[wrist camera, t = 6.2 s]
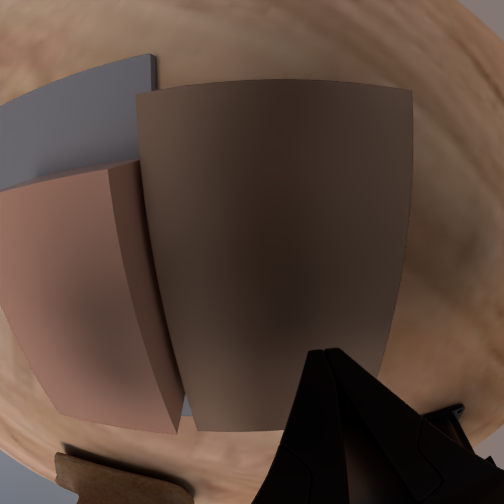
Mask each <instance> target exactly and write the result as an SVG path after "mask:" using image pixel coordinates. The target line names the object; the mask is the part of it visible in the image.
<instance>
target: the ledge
mask: <svg viewBox="0 0 504 504" xmlns="http://www.w3.org/2000/svg"><path fill="white" fill-rule="evenodd" d="M136 115H137V130H138V143H139V154H140V165H141V174H142V183H143V191H144V199H145V207H146V214H147V221H148V227H149V234H150V240H151V246H152V252H153V257H154V263H155V268H156V273H157V279H158V284H159V289H160V293H161V298H162V303H163V307H164V312H165V316H166V321H167V325H168V329H169V333H170V337H171V341H172V345H173V349H174V353H175V357H176V361H177V364H178V368H179V372H180V375H181V379H182V382H183V386H184V389H185V393H186V396H187V399H188V403H189V406H190V409H191V412H192V415H193V418H194V421H195V425H196V428H197V430H198V431H216V432H250V431H275V430H284V429H285V426H286V423H287V420H288V417H289V414H290V411H291V408H292V404H293V401H294V398H295V395H296V391H297V388H298V385H299V381H300V378H301V374H302V371H303V367H304V364H305V360H306V357H307V353H308V351H309V350H316V349H322V350H324V349H326V348H335V347H338V348H340V349H342V350H343V351H344V352H345V353H346V354H347V355H349V356H350V357H351V358H352V359H353V360H355V361H356V362H357V363H358V364H359V365H361V366H362V367H363V368H364V369H365V370H366V371H368V372H369V373H370V374H371V375H372V376H374V377H375V378H376V379H377V376H378V372H379V369H380V365H381V362H382V358H383V355H384V351H385V347H386V344H387V340H388V336H389V332H390V327H391V323H392V319H393V314H394V310H395V305H396V300H397V295H398V290H399V285H400V279H401V273H402V267H403V261H404V254H405V247H406V240H407V232H408V223H409V213H410V202H411V189H412V170H413V104H412V91H410V90H404V89H398V88H392V87H385V86H378V85H370V84H361V83H351V82H339V81H324V80H295V79H272V80H243V81H227V82H215V83H205V84H196V85H188V86H181V87H174V88H167V89H161V90H155V91H149V92H144V93H139V94H136Z"/></svg>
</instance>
